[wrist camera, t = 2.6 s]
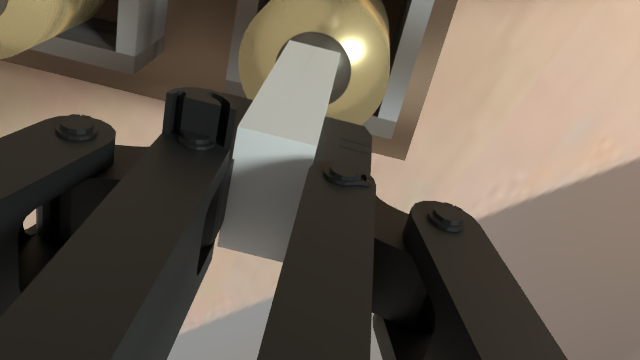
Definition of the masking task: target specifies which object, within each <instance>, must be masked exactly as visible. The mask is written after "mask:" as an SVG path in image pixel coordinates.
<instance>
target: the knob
mask: <svg viewBox="0 0 640 360" xmlns="http://www.w3.org/2000/svg"><path fill="white" fill-rule="evenodd" d="M289 40H291V41H295V42H299V43H303V44H307V45H311V46H315V47H319V48H323V49H327V50H331V51H335V52H339V53H341V54H340V58H339V63H338V67H337V71H336V75H335V79H334V83H333V87H332V91H331V95H330V99H329V103H328V107H327V111H326V115H325V116H326V117H330V118H334V119H338V120H342V121H346V122H350V123H354V124H358V125H362V124H363V123H365V122H366V121H367V120H368V119H369V118H370V117H371V116H372V115H373V114H374V112H375V111H376V110H377V108H378V107H379V105H380V103H381V102H382V100H383V98H384V95H385V93H386V90H387V86H388V82H389V75H390V42H389V21H388V16H387V12H386V9H385V6H384V4H383V2H382V0H270V1H269V2H268V3H267V4H266V5H265V6H264V7H263V9H262V10H261V11H260V12H259V13H258V14H257V15H256V16H255V17H254V19H253V20H252V21H251V23H250V24H249V26H248V28H247V29H246V31H245V33H244V36H243V39H242V41H241V45H240V50H239V58H238V66H239V75H240V81H241V84H242V87H243V90H244V92H245V94H246V97H247V99H251V100H254V98H255V97H256V95H257V93H258V92H259V90H260V88H261V87H262V85H263V83H264V82H265V80H266V78H267V77H268V75H269V73H270V72H271V70H272V68H273V67H274V65H275V64H276V62H277V60H278V59H279V57H280V55H281V54H282V52H283V50H284V49H285V47H286V45H287V44H288V42H289Z"/></svg>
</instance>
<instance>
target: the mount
mask: <svg viewBox="0 0 640 360" xmlns="http://www.w3.org/2000/svg"><path fill="white" fill-rule="evenodd" d="M269 1H270V0H107V2H106V3H105V5H104V7H103V8H102V9H101V10H100V11H99V13H97V14H96V15H95V16H94V17H92V18H91V19H89V20H88V21H86V22H83V23H81V24H79V25H77V26H75V27H73V28H71V29H69V30H67V31H65V32H63V33H61V34H58V35H56V36H54V37H52V38H50V39H48V40H46V41H44V42H42V43H40V44H38V45H36V46H33V47H31V48H29V49H27V50H25V51H23V52H21V53H19V54H17V55H14V56H12V57H8V58H4V59H0V60H3V61H7V62H11V63H15V64H19V65H23V66H27V67H31V68H35V69H39V70H43V71H47V72H51V73H55V74H59V75H64V76H68V77H72V78H76V79H80V80H84V81H88V82H92V83H96V84H100V85H104V86H108V87H112V88H116V89H120V90H124V91H128V92H132V93H136V94H140V95H144V96H148V97H152V98H156V99H160V100H164V101H166V92H168V91H170V90H172V89H175V88H182V87H198V88H204V89H210V90H213V91H216V92H219V93H227V94H231V95H235V96H239V97H243V98H247V97H246V94H245V92H244V90H243V87H242V84H241V81H240V75H239V66H238V58H239V50H240V45H241V41H242V39H243V36H244V33H245V31H246V29H247V28H248V26H249V24H250V23H251V21H252V20H253V19H254V17H255V16H256V15H257V14H258V13H259V12H260V11H261V10H262V9H263V7H264V6H265V5H266V4H267V3H268V2H269ZM457 1H458V0H382V2H383V4H384V6H385V9H386V12H387V16H388V21H389V42H390V75H389V82H388V86H387V90H386V93H385V95H384V98H383V100H382V102H381V103H380V105H379V107H378V108H377V110H376V111H375V112H374V114H373V115H372V116H371V117H370V118H369V119H368V120H367V121H366V122H365V123H363V124H362V126H365V127H366V129H367V130H368V131H369V133H370V134H371V135H372V147H371V148H372V153H376V154H380V155H384V156H388V157H392V158H396V159H400V160H405V158H406V155H407V152H408V149H409V146H410V143H411V140H412V137H413V134H414V131H415V128H416V125H417V122H418V119H419V116H420V113H421V110H422V107H423V104H424V101H425V98H426V95H427V92H428V89H429V86H430V83H431V80H432V77H433V74H434V71H435V68H436V65H437V62H438V59H439V56H440V53H441V50H442V47H443V44H444V40H445V37H446V34H447V31H448V28H449V25H450V22H451V19H452V16H453V13H454V10H455V7H456V4H457Z"/></svg>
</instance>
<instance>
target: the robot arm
mask: <svg viewBox="0 0 640 360" xmlns="http://www.w3.org/2000/svg"><path fill="white" fill-rule="evenodd" d="M340 54H341V53H339V52H335V51H331V50H327V49H323V48H319V47H315V46H311V45H307V44H303V43H299V42H295V41H291V40H289V42H288V44H287V45H286V47H285V49H284V50H283V52H282V54H281V55H280V57H279V59H278V60H277V62H276V64H275V65H274V67H273V68H272V70H271V72H270V73H269V75H268V77H267V78H266V80H265V82H264V83H263V85H262V87H261V88H260V90H259V92H258V93H257V95H256V97H255V98H254V100H251V99H247V98H243V97H239V96H235V95H231V94H227V93H219V92H216V91H213V90H210V89H204V88H198V87H182V88H175V89H172V90H170V91H168V92H166V101H165V111H164V120H163V130H162V134H161V135H160V136H159V137H158V138H157V139H156V141H155V142H154V143H153V144H152V145H151V146H150V147H134V146H123V145H115V135H116V131H115V130H114V129H113V128H112V126H111V125H109V124H107V123H105V122H103V121H101V120H98V119H94V118H91V117H90V116H85V115H82V116H80V115H75V114H72V115H69V116H58V117H54V118H50V119H46V120H44V121H41V122H39V123H36V124H34V125H31V126H29V127H26V128H24V129H21V130H19V131H16V132H14V133H11V134H9V135H6V136H4V137H2V138H0V360H167V357H168V355H169V353H170V351H171V348H172V346H173V344H174V342H175V340H176V337H177V335H178V333H179V331H180V329H181V326H182V324H183V322H184V320H185V318H186V315H187V313H188V311H189V309H190V306H191V304H192V302H193V300H194V298H195V295H196V293H197V291H198V289H199V287H200V284H201V282H202V280H203V278H204V276H205V273H206V271H207V269H208V267H209V264H210V262H211V260H212V254H213V248H214V242H215V238H216V236H217V234H218V232H219V230H220V233H219V239H218V245H217V246H219V247H223V248H227V249H231V250H235V251H239V252H243V253H247V254H251V255H255V256H259V257H263V258H268V259H272V260H276V261H280V262H283V265H282V269H281V273H280V276H279V280H278V284H277V287H276V291H275V295H274V298H273V302H272V306H271V309H270V313H269V317H268V321H267V324H266V328H265V332H264V335H263V339H262V343H261V346H260V350H259V354H258V358H257V360H370V344H371V316H372V315H371V313H374V316H373V328H374V331H375V335H376V338H377V342H378V345H379V348H380V352H381V355H382V359H383V360H567V358H566V356H565V355H564V353H563V352H562V350H561V349H560V347H559V346H558V344H557V343H556V341H555V340H554V338H553V336H552V335H551V333H550V332H549V330H548V329H547V327H546V326H545V324H544V323H543V321H542V320H541V318H540V317H539V315H538V313H537V312H536V310H535V309H534V307H533V306H532V304H531V303H530V301H529V300H528V298H527V297H526V295H525V294H524V292H523V290H522V289H521V287H520V286H519V284H518V283H517V281H516V280H515V278H514V277H513V275H512V274H511V272H510V271H509V269H508V267H507V266H506V264H505V263H504V261H503V260H502V259H501V257H500V255H499V254H498V252H497V251H496V249H495V248H494V246H493V244H492V243H491V241H490V240H489V238H488V237H487V235H486V234H485V232H484V231H483V229H482V228H481V226H480V225H479V224H478V222H477V221H476V220H475V219H474V218H473V217H472V216H470V215H469V214H467V213H466V212H464V211H463V210H462V209H461V208H459V207H457V206H453V205H452V204H449V203H441V202H437V201H422V202H419V203H415V204H414V206H413V207H412V208H411V210H410V213H409V214H407V213H404V212H402V211H400V210H398V209H396V208H394V207H392V206H390V205H388V204H386V203H385V202H383V201H382V200H380V199H379V198H378V197H377V196H376V184H375V181H374V179H373V178H372V177H371V176H370V173H371V153H372V148H371V147H372V135H371V134H370V133H369V131H368V130H367V129H366V127H365V126H362V125H358V124H354V123H350V122H346V121H342V120H338V119H334V118H330V117H326V116H325V115H326V111H327V107H328V103H329V99H330V95H331V91H332V87H333V83H334V79H335V75H336V71H337V67H338V63H339V58H340ZM35 209H36V224H35V225H33V226H32V227H30V228H28V229H26V230H24V228H23V221H24V220H25V218H26V217H27V216H28V215H29V214H30V213H31V212H32V211H33V210H35Z"/></svg>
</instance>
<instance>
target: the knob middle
mask: <svg viewBox="0 0 640 360" xmlns="http://www.w3.org/2000/svg"><path fill="white" fill-rule="evenodd" d="M106 2H107V0H0V59H4V58H8V57H12V56H14V55H17V54H19V53H21V52H23V51H25V50H27V49H29V48H31V47H33V46H36V45H38V44H40V43H42V42H44V41H46V40H48V39H50V38H52V37H54V36H56V35H58V34H61V33H63V32H65V31H67V30H69V29H71V28H73V27H75V26H77V25H79V24H81V23H83V22H86V21H88V20H89V19H91V18H92V17H94V16H95V15H96V14H97V13H99V11H100V10H101V9H102V8H103V7H104V5H105V3H106Z"/></svg>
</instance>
